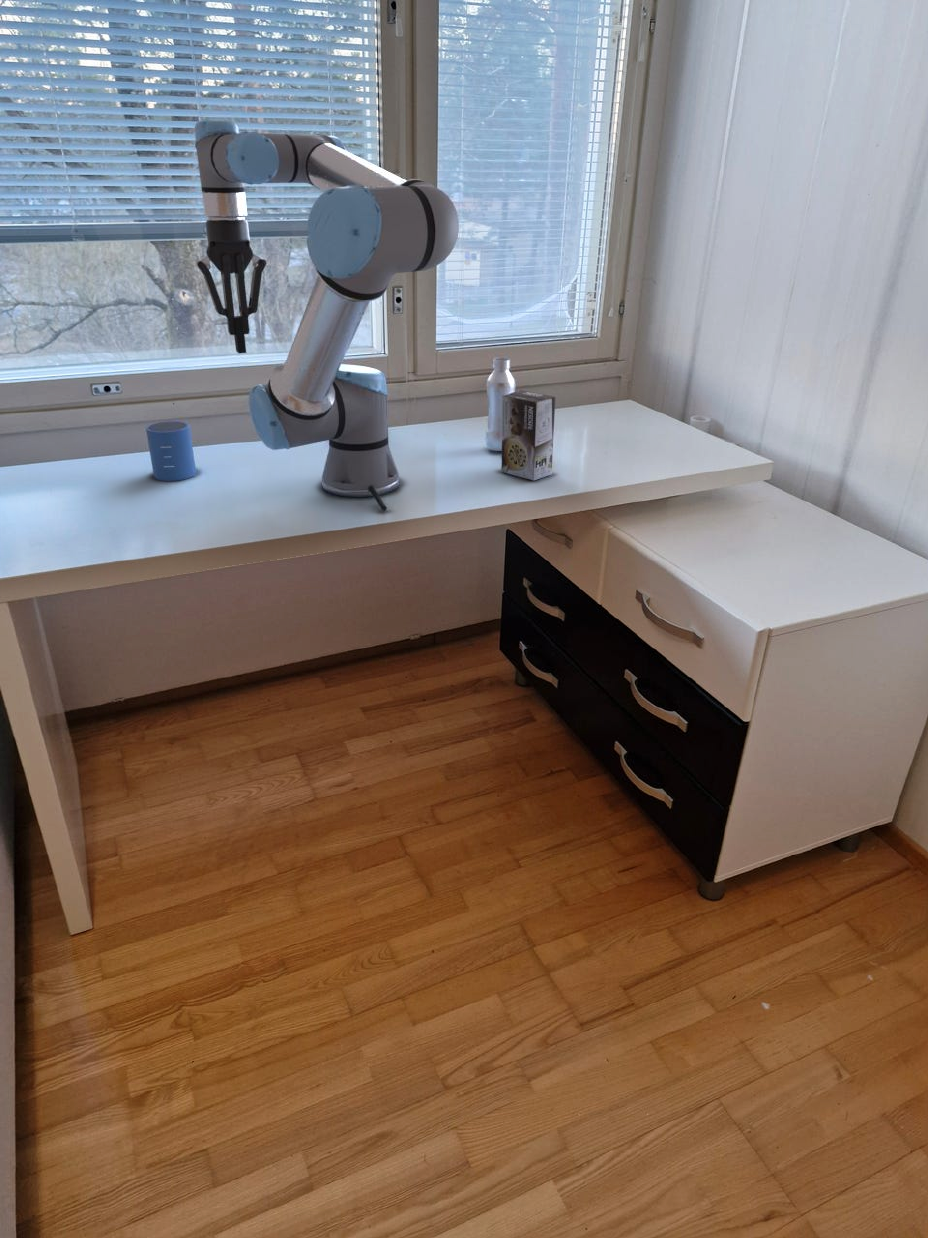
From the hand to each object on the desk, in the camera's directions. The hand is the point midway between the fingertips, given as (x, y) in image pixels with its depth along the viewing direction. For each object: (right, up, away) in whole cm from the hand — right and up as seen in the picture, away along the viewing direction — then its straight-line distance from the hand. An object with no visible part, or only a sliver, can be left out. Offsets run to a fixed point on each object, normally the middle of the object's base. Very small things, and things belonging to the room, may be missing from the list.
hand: (241, 351), depth 169 cm
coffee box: (+56, -22, +12) cm, 62 cm away
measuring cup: (-20, -18, +7) cm, 28 cm away
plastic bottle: (+51, -14, +27) cm, 60 cm away
